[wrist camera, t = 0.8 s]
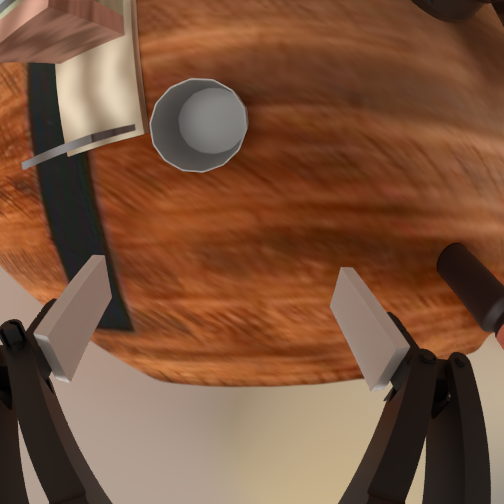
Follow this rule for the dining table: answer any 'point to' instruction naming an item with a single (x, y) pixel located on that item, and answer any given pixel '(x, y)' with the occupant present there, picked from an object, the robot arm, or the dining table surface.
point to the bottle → (474, 288)
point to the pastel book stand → (82, 65)
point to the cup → (198, 125)
